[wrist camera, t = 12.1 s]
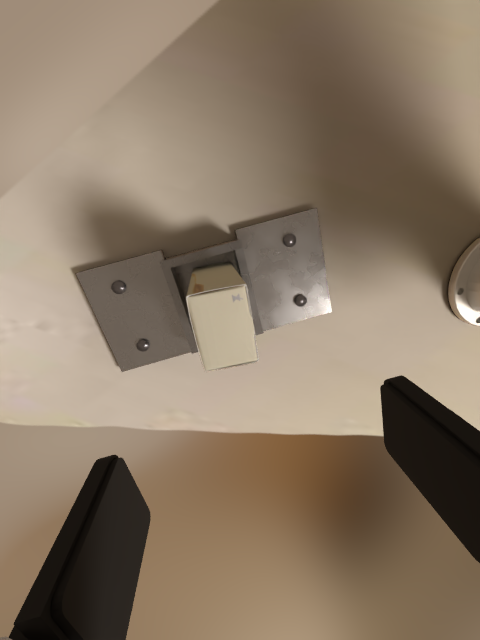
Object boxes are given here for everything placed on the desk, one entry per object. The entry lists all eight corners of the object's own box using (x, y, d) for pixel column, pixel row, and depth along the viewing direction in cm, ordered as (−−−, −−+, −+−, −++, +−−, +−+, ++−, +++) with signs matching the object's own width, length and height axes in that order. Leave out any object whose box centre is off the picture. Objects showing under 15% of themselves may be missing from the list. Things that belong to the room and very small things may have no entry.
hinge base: (313, 208, 29) (327, 205, 25) (328, 309, 33) (342, 318, 29) (79, 272, 28) (62, 277, 25) (123, 368, 32) (114, 384, 28)
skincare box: (191, 267, 29) (181, 290, 17) (230, 260, 29) (247, 278, 17) (204, 322, 31) (202, 375, 19) (240, 315, 31) (260, 363, 20)
